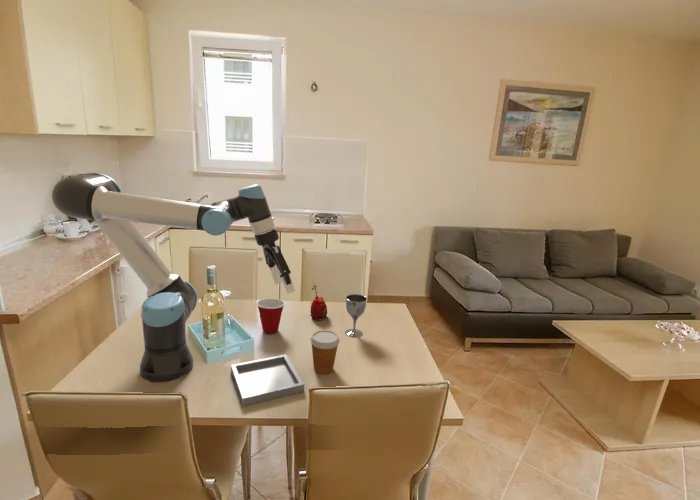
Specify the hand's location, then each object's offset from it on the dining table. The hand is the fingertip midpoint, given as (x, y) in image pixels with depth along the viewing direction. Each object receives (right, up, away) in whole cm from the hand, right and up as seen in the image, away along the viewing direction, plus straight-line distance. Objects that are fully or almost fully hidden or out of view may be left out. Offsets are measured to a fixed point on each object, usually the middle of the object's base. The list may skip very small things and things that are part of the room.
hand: (284, 287), depth 134 cm
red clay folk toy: (+9, -16, +30) cm, 35 cm away
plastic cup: (-8, -18, +16) cm, 26 cm away
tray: (-3, -27, -16) cm, 32 cm away
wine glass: (+24, -20, +18) cm, 36 cm away
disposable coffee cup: (+14, -26, -8) cm, 31 cm away
